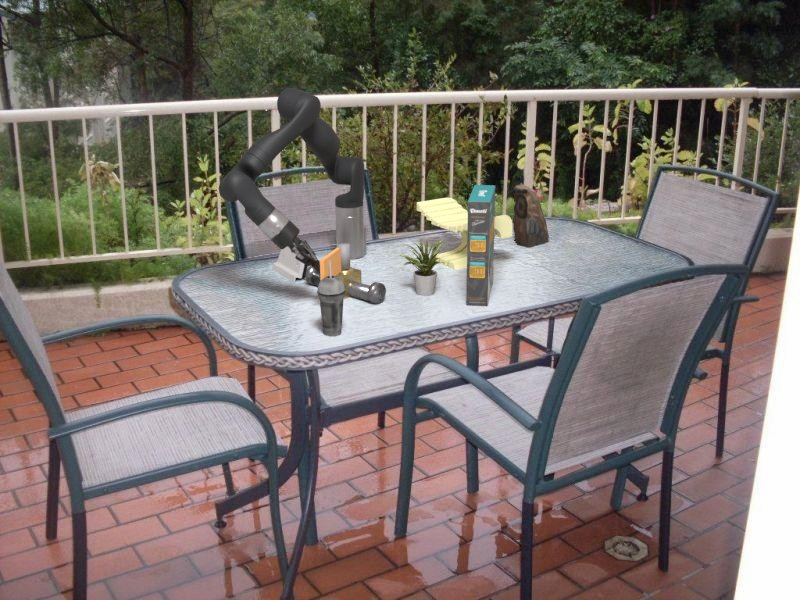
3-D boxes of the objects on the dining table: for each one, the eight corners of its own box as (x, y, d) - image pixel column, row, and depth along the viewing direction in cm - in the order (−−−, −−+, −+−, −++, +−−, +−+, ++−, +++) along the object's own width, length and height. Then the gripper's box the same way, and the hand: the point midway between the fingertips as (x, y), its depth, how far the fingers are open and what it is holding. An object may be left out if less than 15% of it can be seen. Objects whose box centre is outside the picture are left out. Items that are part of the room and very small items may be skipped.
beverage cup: (346, 327, 245) (344, 255, 239) (346, 337, 238) (344, 263, 232) (319, 328, 245) (316, 255, 239) (317, 338, 238) (315, 264, 232)
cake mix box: (473, 281, 282) (474, 184, 272) (492, 282, 281) (495, 185, 272) (466, 305, 262) (468, 201, 252) (487, 306, 261) (490, 202, 251)
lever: (340, 265, 272) (339, 242, 270) (352, 266, 271) (351, 243, 269) (316, 284, 255) (315, 259, 253) (328, 285, 254) (327, 260, 252)
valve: (321, 281, 284) (320, 257, 282) (387, 300, 266) (387, 275, 264) (304, 286, 279) (303, 262, 277) (370, 306, 261) (370, 281, 259)
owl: (528, 249, 316) (530, 191, 310) (499, 242, 325) (501, 186, 318) (550, 241, 325) (553, 185, 318) (522, 235, 333) (524, 180, 327)
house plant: (422, 281, 283) (422, 229, 278) (459, 290, 275) (460, 236, 269) (392, 293, 273) (392, 239, 267) (430, 302, 264) (430, 247, 259)
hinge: (271, 268, 297) (279, 238, 295) (284, 271, 299) (292, 241, 298) (293, 282, 283) (302, 250, 282) (307, 284, 286) (315, 253, 284)
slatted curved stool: (510, 267, 296) (512, 213, 290) (471, 276, 288) (472, 220, 282) (454, 246, 320) (455, 196, 314) (416, 254, 311) (416, 202, 305)
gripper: (271, 231, 261) (315, 273, 265) (266, 244, 249) (313, 287, 253) (290, 213, 260) (334, 256, 264) (286, 225, 247) (332, 269, 251)
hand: (323, 271), depth 258 cm, fingers closed
